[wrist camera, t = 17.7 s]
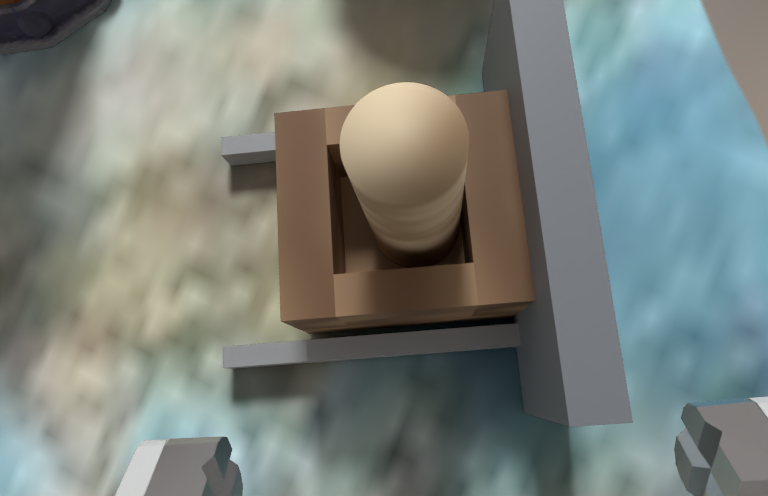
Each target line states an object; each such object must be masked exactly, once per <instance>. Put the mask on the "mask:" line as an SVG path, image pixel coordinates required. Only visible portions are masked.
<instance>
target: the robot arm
mask: <svg viewBox="0 0 768 496" xmlns="http://www.w3.org/2000/svg"><path fill="white" fill-rule="evenodd" d="M681 419H682V421H683V423H684V425H685V427H686V428H685V429H684V430H683V431H681V432H680V433H679V434H678V435H677V436H676V442H675V447H674V452H675V460H676V466H677V469H678V472H679V475H680V478H681V480H682V482H683V484H684V486H685V488H686V490H687V491H688V492H689V493H691V494H692V495H693V496H768V397H758V398H748V399H745V398H740V399H728V400H716V401H704V402H691V403H687V404H686V406H685V407H684V408H683V411H682V415H681ZM231 452H232V448H231V445H230V443H229V440H228V438H227V437H201V438H178V439H163V440H144V441H143V442H142V443H141V444H140V445H139V446H138V447H137V448H136V450H135V452H134V454H133V456H132V459H131V461H130V463H129V465H128V467H127V470H126V472H125V474H124V476H123V479H122V481H121V483H120V485H119V487H118V490H117V492H116V494H115V496H242V492H243V484H242V477H241V473H240V470H239V467H238V465H237V464H235V463H234V462H232V461H231V460H229V459H230V455H231Z"/></svg>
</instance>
